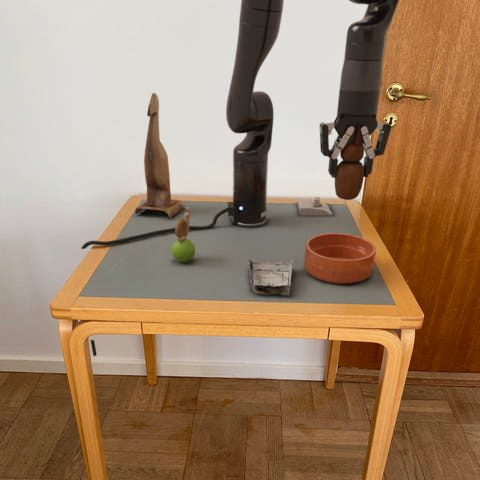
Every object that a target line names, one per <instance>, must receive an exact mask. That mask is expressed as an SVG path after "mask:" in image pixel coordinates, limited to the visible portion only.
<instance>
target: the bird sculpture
mask: <svg viewBox="0 0 480 480" xmlns="http://www.w3.org/2000/svg"><path fill="white" fill-rule="evenodd" d="M159 114H160V101H159V97H158V95H157V93H155V92H153V93H151V96H150V99H149V103H148V107H147V113H146V115H147V118H149V120H148V126H147V133H146V142H145V148H144V157H143V164H144V165H143V167H144V177H145V179H144V180H145V184H146V201H145V202H144V203H142V204H140V205H139V206H138V207H136V208H135V210H134V214H135V215H137V214H139V213H140V212H142V211H143V210H145V209H146V210H157V211H163V212H164V213H166V214H167V215H168V217H169V219H171V218H173V216H175V215H176V214H178V212H180V211H181V210H183V208H184V203H183V201H182V200H180V199H173V198H172V193H171V178H170V165H169V156H168V152H167V151H166V149H165V146H164V145H163V143H162V142H161V140H160V121H159V119H160V115H159Z"/></svg>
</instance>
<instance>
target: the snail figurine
mask: <svg viewBox="0 0 480 480" xmlns="http://www.w3.org/2000/svg"><path fill="white" fill-rule="evenodd" d="M184 210H188V211H185V212H184V214H183V217H184V218H179V219H177V221H176V223H175V227H174V228H175V231H174V232H175V236H176V237H177V238H176V240H175V241H174V243H173V244H172V245H171V254H172V257H173V258H174V259H175V260H176V261H178V262H180V263H187V262H189V261H191V260H192V259H193V258H194V257H195V254H196V246H195V245H194V243H193V242H192V241H191V240H190V239H188V238H187V237H188V235H189V232H190V230H189V226H190V223H191V221H190V216H191V214H190V212H189V211H190V210H191V208H190V206H185V207H184Z"/></svg>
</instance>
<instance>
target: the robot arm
mask: <svg viewBox="0 0 480 480" xmlns="http://www.w3.org/2000/svg"><path fill="white" fill-rule="evenodd" d="M284 1H285V0H241V2H240V9H239V10H240V11H239V19H238V33H237V41H236V48H235V56H234V64H233V69H232V75H231V78H230V79H231V80H230V84H229V89H228V94H227V99H226V106H225V119H226V123H227V126H228V128H229V130H230V131H231V132H232V133H234V134H240V135H241V134H246V135H245V136H244V138H243V139H242V140H241V141H240V142H239V143H238V144H236V145H235V146H234V147H233V150H232V201H227V207H226V208H224V209H222V210H220V211H218V213H216V214H215V215H214V217H213V220H212V222H211V223H209V224H208V225H204V226H203V225H202V226H199V225H189V231H190V230H193V231H201V230H202V231H203V230H209V229H212V228H213V227H215V225H216V224H217V221H218V219H219V218H220V217H221V216H222V215H225V213H227V217H232V224H233V226H240V227H246V228H254V227H255V228H256V227H260V226H262V225H265V224H266V223H267V215H268V212H269V210H268V209H267V199H268V197H267V196H268V195H267V194H268V170H269V169H268V168H269V153H270V151H271V148H272V140H273V128H274V114H275V113H274V105H273V101H272V98H271V96H270V95H269V94H268V93H266V92H265V91H263V90H262V91H261V90H257V91H256V90H255V91H254V89H255V84H256V81H257V76H258V74H259V71H260V69H261V68H262V65H263V64H264V62H265V61H266V59H267V58H268V56H269V54H270V53H271V51H272V49H273V47H274V45H275V43H276V42H277V39H278V37H279V34H280V28H281V23H282V19H283V18H282V17H283V11H284V5H285V4H284ZM348 1H349V2H350V3H352V4H355V5H367V7H366V10H365V12H364V15H363V16H362V19H360V20H357V21H355V22H352V23H351V24H350V25H349V26H348V28H347V30H346V37H345V45H344V46H345V47H344V54H343V55H344V56H343V63H342V68H341V72H340V79H339V80H340V82H339V90H338V99H337V100H338V101H337V111H336V117H335V119H334V121H333V122H327V123H326V122H320V124H319V142H320V143H319V145H320V153H321V154H322V155H323V156H324V157H326V158H329V160H328V169H327V172H328V174H329V176H330V177H331V179H335V178H336V175H337V166H338V164H339V159H338V157H339V156H340V152H341V150H342V149H343V148H344V146H345V145H346V144H352V143H354V140H355V135H356V132H357V128H358V125H359V124H360V135H359V144H363V146H364V155H365V156H363V163H362V165H363V167H364V178H369V175H371V174H372V173H373V165H374V160H375V158H376V157H379V156H383V155H384V154H385V151H386V148H387V144H388V140H389V137H390V133H391V131H392V125H391V124H390V123H388V122H387V121H383V122H379V121H378V119H377V115H378V109H379V101H380V93H381V87H382V84H383V81H382V79H383V71H384V69H383V65H384V56H385V49H386V42H387V34H388V32H389V30H390V26H391V25H392V22H393V18H394V16H395V13H396V10H397V8H398V5H399V2H400V0H348ZM376 129H377V134H378V136H377V139H376V142H375V143H376V144H375V146H373V143H372V140H371V136H372V134H373V133H374V132H375V130H376ZM333 130H335V132H336V133H337V136H336V138H335V140H334V141H333V145H332V147H331V149H330V142H329V141H330V139H329V136H331V135H332V132H333ZM373 147H374V148H373ZM173 232H175V227H172V228H171V227H170V228H166V229H165V228H164V229H159V230H154V231H149V232H146V233H142V234H137V235H132V236H128V237H124V238H119V239H113V240H107V241H100V240H89V241H86V242H85V243H84V244H83V245H82V246H81V247H80V249H82V250H85V249H87V248H88V247H89V246H92V245H97V246H112V245H117V244H121V243H126V242H130V241H135V240H139V239H143V238H144V239H145V238H148V237H152V236H157V235H162V234H167V233H173ZM90 345H91V350H92V351H91V352H92V356H93V357H96V356H97V349H96V343H95V340H94V339H90Z"/></svg>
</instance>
